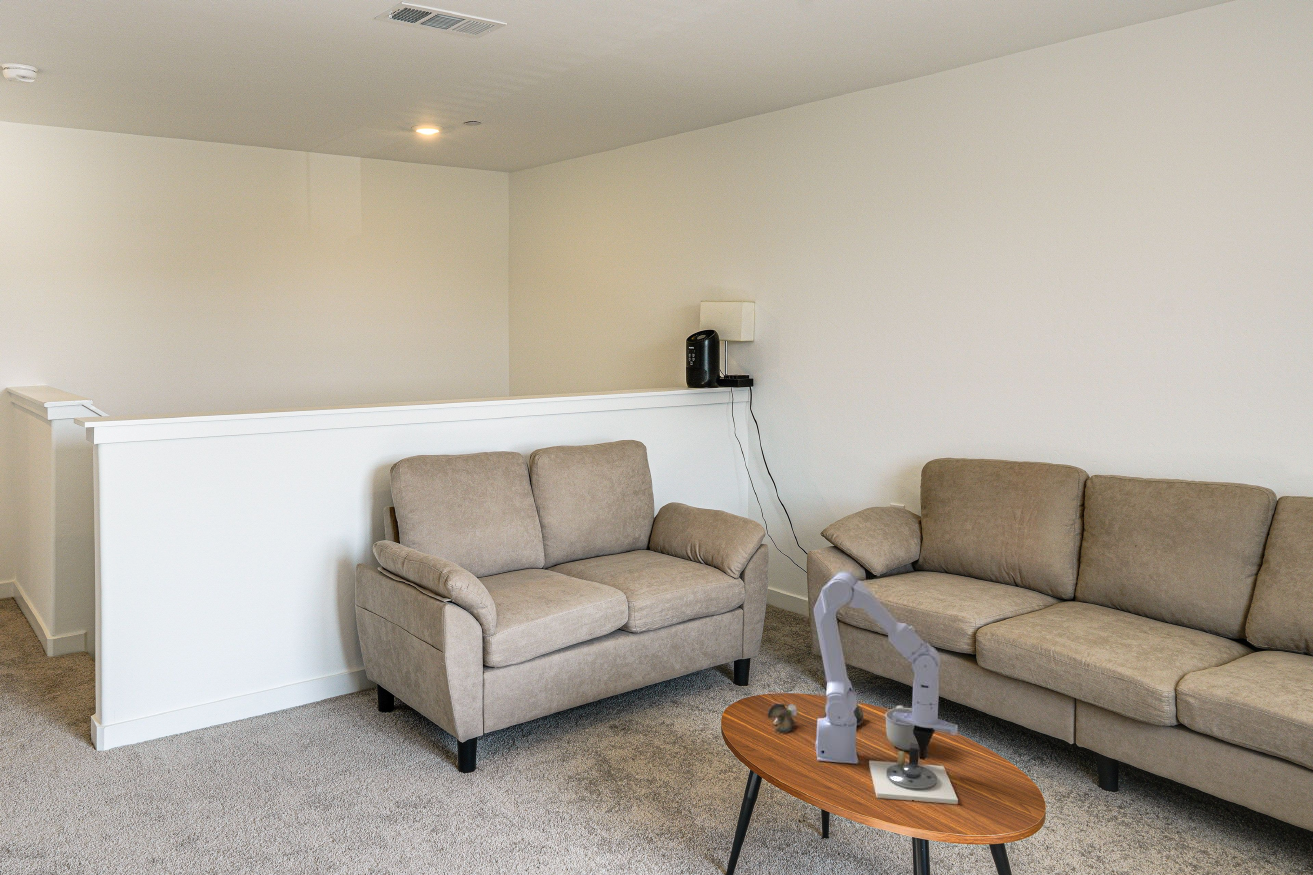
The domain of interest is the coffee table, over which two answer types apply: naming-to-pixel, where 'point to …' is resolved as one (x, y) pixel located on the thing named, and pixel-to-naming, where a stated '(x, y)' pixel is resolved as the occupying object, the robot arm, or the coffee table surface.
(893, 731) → the teacup
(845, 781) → the coffee table surface
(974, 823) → the coffee table surface
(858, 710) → the fossil
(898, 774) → the flange plate
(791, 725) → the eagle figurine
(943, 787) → the base plate
